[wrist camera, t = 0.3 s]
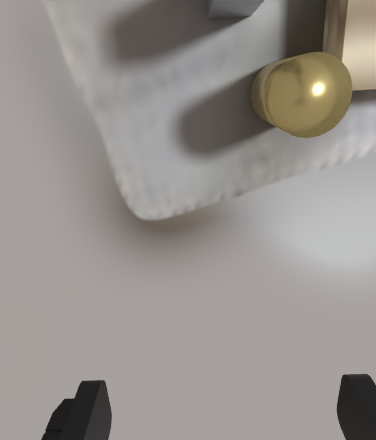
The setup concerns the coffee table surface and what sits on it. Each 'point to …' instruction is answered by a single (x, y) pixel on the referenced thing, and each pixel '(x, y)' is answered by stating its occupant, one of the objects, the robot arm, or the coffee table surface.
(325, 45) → the socket block
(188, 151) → the coffee table surface
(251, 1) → the bar
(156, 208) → the coffee table surface
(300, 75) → the round brass bit
